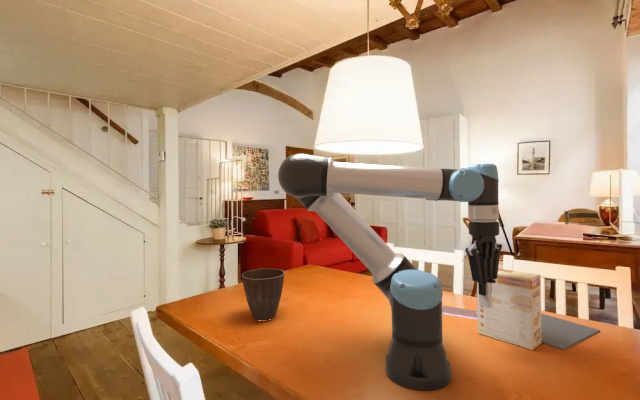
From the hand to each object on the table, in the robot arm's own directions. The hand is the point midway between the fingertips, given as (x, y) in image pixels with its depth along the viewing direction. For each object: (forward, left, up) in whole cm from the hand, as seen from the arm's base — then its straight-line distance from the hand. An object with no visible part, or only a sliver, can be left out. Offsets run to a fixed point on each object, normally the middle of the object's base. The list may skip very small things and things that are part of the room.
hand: (485, 306), depth 90 cm
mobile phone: (+17, +20, -12) cm, 29 cm away
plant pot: (-44, +55, -12) cm, 72 cm away
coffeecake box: (+11, 0, -12) cm, 16 cm away
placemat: (+26, -1, -12) cm, 29 cm away
